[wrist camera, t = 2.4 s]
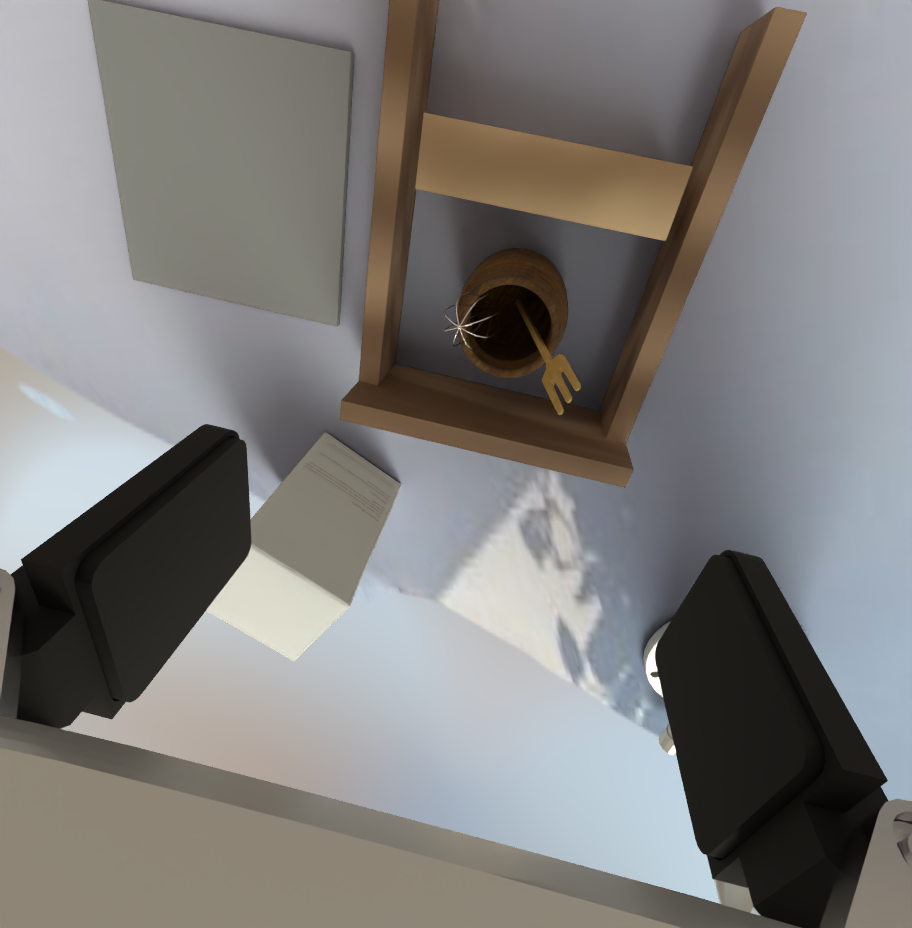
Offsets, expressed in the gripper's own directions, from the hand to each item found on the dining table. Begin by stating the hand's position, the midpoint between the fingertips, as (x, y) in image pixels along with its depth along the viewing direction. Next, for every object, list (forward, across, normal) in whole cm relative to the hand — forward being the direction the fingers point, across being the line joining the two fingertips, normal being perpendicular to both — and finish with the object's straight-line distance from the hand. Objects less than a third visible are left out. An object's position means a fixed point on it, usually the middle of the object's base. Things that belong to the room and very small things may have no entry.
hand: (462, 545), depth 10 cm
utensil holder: (+24, 0, 0) cm, 24 cm away
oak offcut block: (+24, 0, -6) cm, 24 cm away
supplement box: (+24, +10, +17) cm, 31 cm away
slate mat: (+23, +18, -3) cm, 30 cm away
